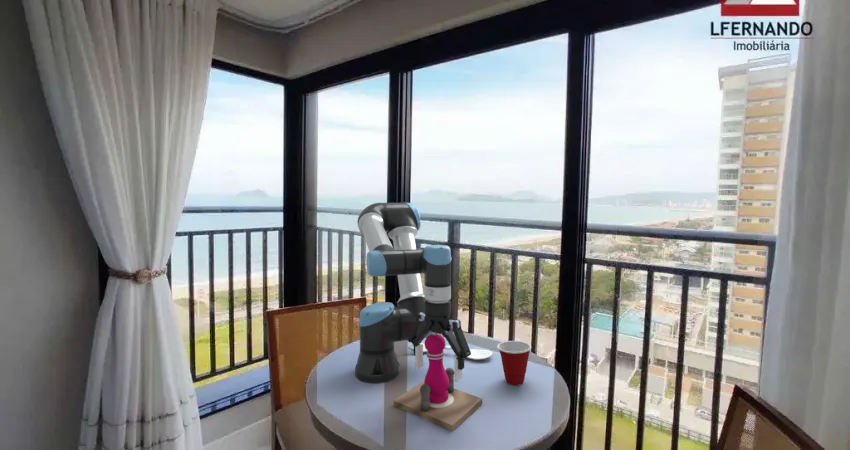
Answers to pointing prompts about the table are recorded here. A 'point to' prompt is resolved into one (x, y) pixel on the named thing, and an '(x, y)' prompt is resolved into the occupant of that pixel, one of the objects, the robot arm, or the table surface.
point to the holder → (439, 404)
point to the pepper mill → (436, 369)
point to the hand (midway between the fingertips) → (437, 373)
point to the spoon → (474, 355)
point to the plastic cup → (514, 360)
